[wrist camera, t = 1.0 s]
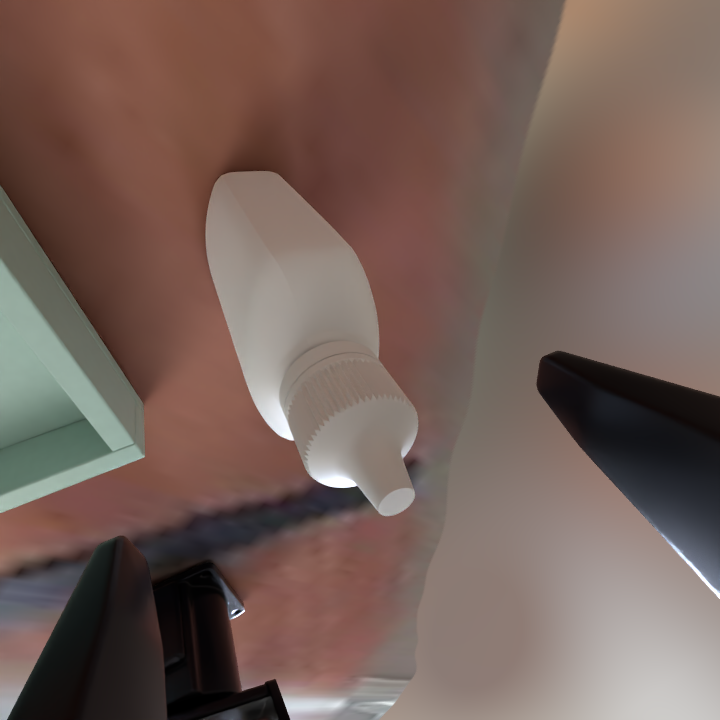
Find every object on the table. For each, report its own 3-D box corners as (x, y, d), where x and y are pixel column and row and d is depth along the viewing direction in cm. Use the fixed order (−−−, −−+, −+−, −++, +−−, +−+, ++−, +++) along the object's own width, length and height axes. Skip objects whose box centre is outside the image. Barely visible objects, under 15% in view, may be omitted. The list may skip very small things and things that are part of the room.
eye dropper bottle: (337, 204, 17) (569, 398, 8) (273, 326, 19) (403, 595, 10) (227, 144, 14) (385, 329, 5) (167, 292, 16) (209, 613, 7)
